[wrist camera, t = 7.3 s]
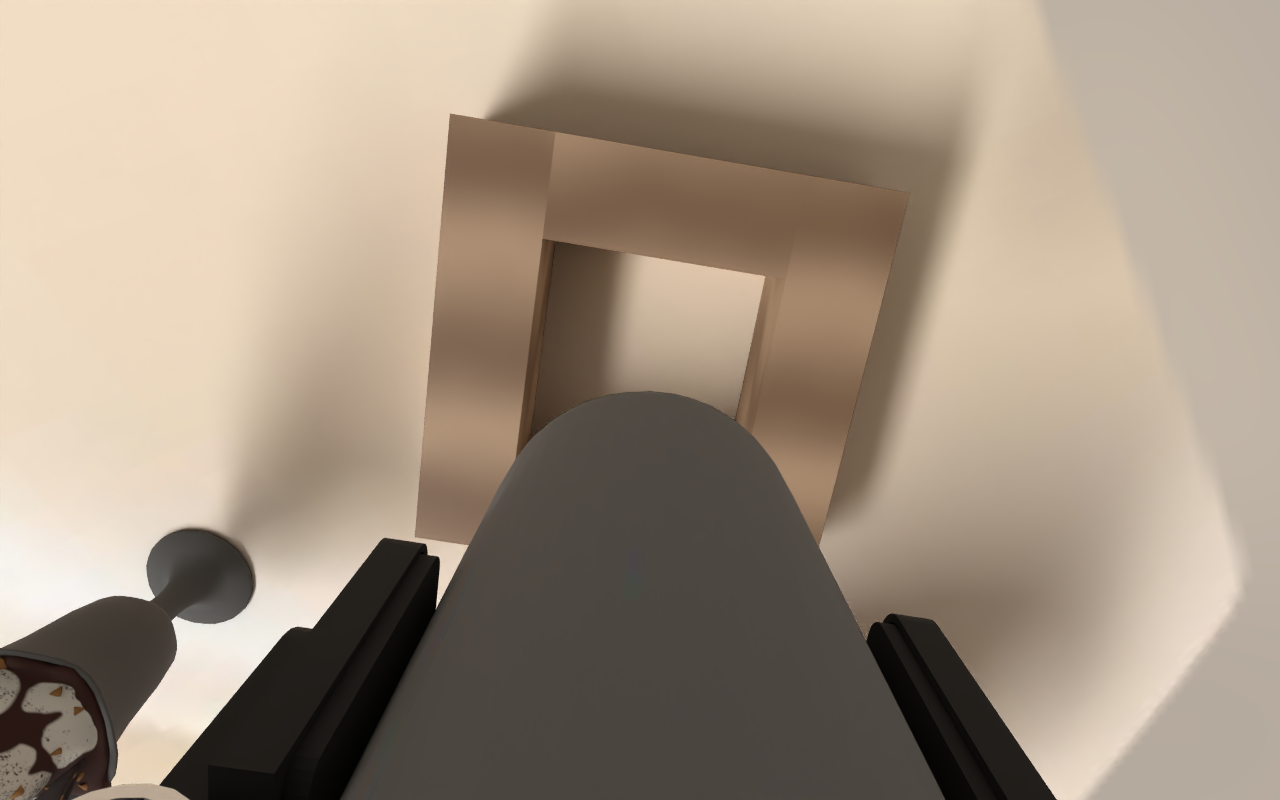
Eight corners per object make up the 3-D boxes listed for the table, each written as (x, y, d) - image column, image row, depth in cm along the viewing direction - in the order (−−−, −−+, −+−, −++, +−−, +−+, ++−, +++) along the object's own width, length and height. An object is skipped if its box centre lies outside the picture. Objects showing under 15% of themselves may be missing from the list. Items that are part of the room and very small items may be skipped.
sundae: (118, 508, 32) (-307, 757, 18) (265, 517, 32) (-41, 772, 18) (137, 633, 34) (-235, 951, 20) (276, 641, 34) (6, 964, 20)
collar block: (477, 125, 28) (450, 113, 24) (873, 193, 28) (909, 192, 24) (442, 496, 32) (415, 537, 28) (787, 549, 33) (805, 595, 29)
